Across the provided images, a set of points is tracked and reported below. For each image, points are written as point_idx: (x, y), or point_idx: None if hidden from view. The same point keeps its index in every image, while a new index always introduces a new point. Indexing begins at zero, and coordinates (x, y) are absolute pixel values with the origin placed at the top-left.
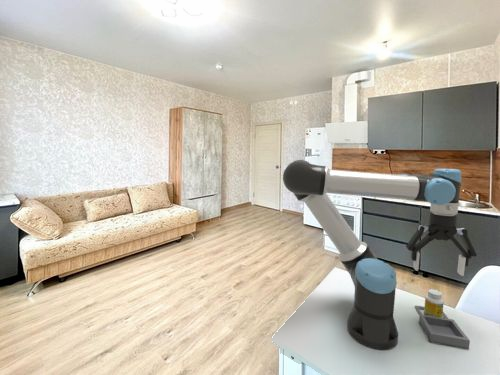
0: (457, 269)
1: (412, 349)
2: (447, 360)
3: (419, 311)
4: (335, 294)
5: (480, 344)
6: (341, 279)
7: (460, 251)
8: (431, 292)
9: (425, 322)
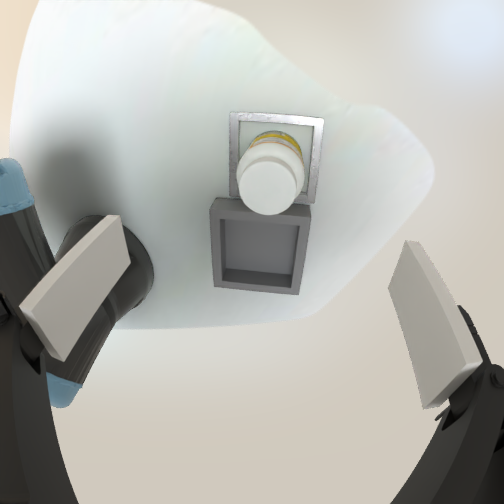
0: (412, 254)
1: (177, 293)
2: (234, 309)
3: (232, 150)
4: (33, 132)
5: (340, 258)
6: (44, 34)
7: (447, 436)
8: (247, 196)
9: (214, 246)
